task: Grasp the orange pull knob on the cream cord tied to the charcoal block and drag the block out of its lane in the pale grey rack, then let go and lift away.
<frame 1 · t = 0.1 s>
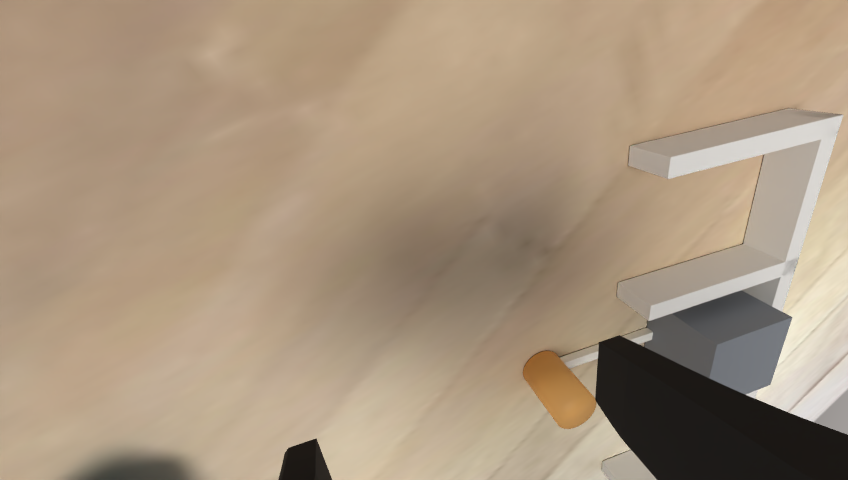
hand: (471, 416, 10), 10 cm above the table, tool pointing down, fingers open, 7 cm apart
lane rack: (679, 320, 27), on the table
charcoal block: (678, 320, 27), on the table
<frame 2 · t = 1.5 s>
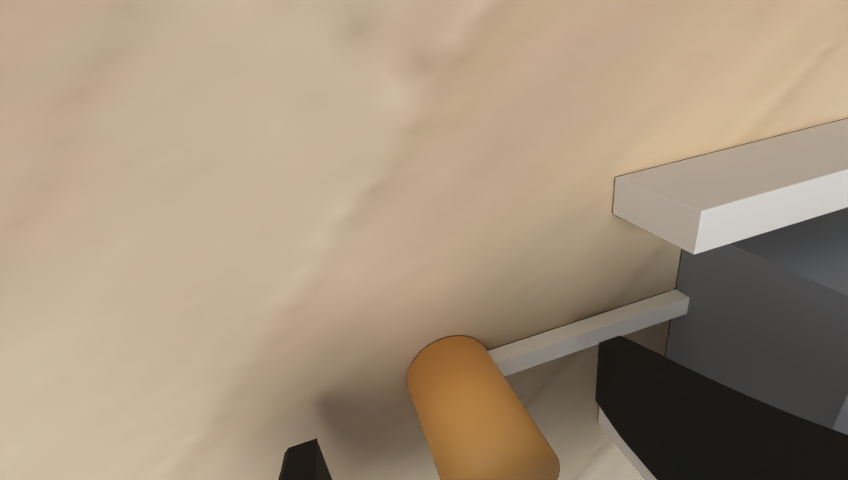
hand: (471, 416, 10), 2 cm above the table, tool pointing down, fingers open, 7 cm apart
lane rack: (739, 276, 13), on the table
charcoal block: (738, 275, 13), on the table
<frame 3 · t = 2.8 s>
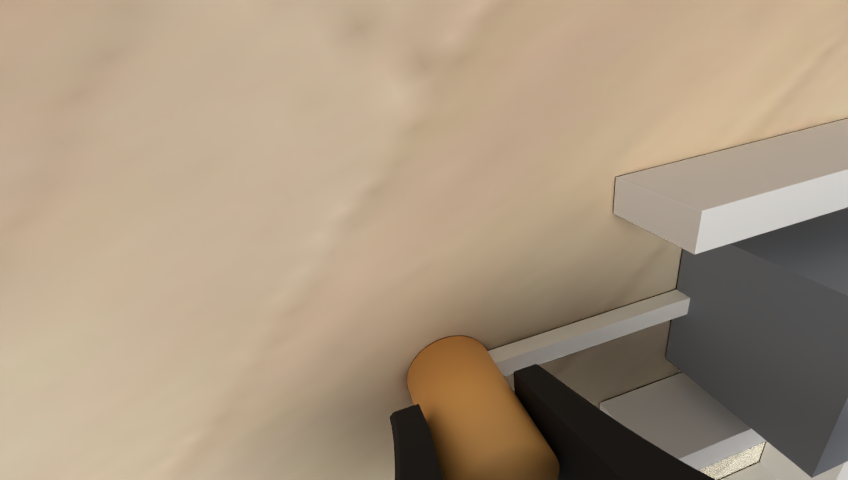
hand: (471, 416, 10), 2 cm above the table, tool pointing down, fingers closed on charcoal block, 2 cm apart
lane rack: (740, 276, 13), on the table
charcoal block: (739, 276, 13), on the table, touching gripper
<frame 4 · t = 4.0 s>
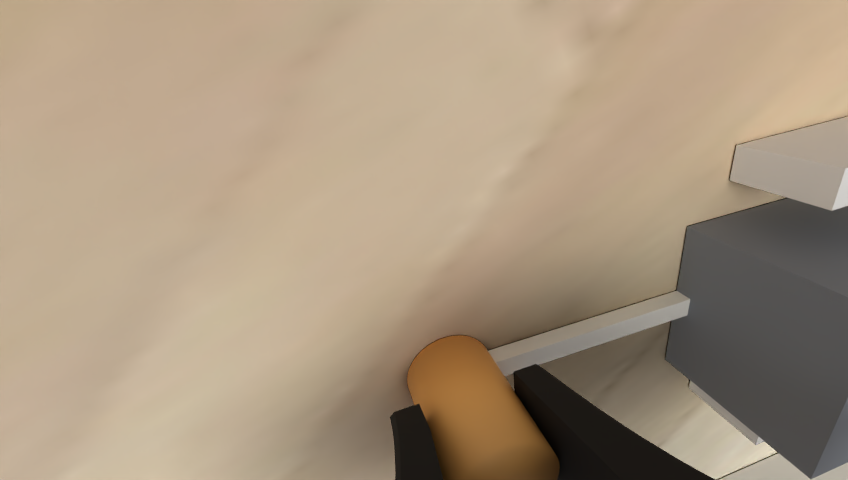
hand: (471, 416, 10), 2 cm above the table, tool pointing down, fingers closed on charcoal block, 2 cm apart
lane rack: (829, 245, 14), on the table
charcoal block: (739, 277, 13), on the table, touching gripper
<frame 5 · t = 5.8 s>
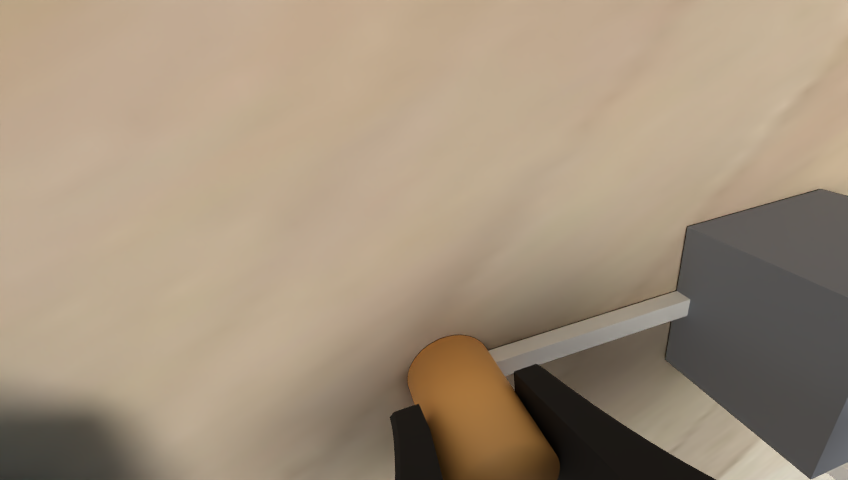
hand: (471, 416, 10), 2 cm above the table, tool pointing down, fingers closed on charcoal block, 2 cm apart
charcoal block: (739, 278, 13), on the table, touching gripper
when the fingers open (2 cm above the table, at t = 6.8 s): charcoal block stays where it is, on the table.
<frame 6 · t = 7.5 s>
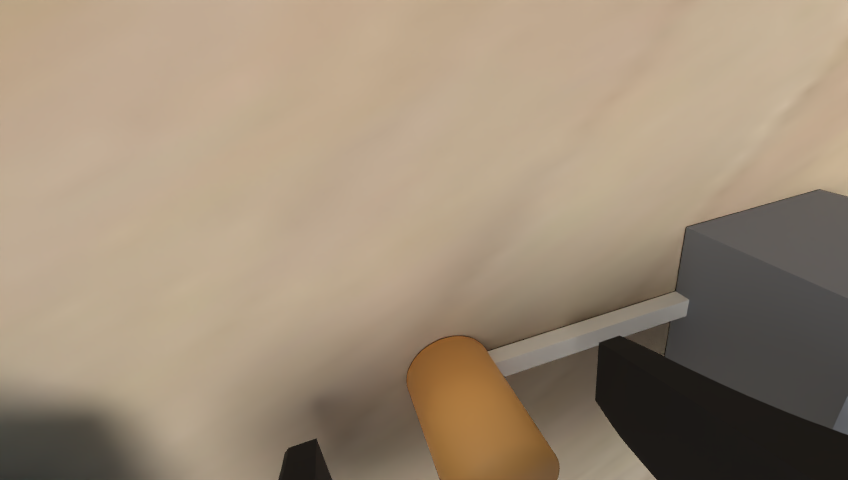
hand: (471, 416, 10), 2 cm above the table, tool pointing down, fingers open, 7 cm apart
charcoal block: (738, 278, 13), on the table
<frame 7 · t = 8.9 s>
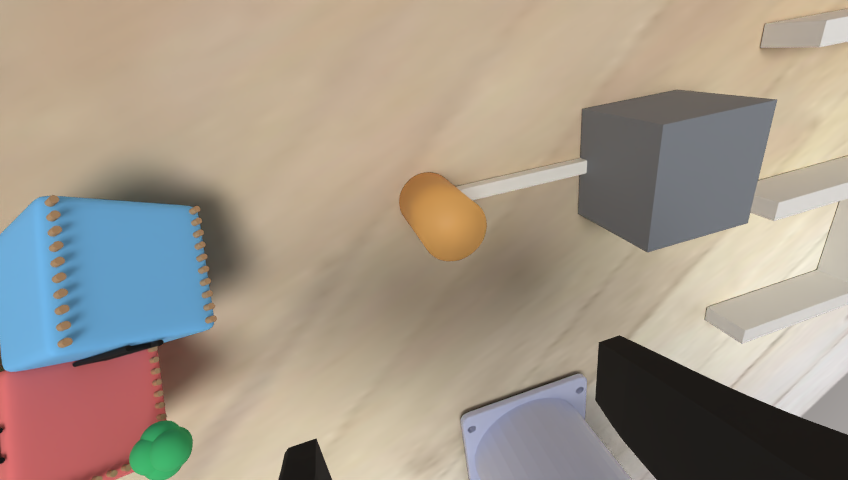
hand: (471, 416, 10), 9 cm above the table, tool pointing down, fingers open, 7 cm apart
lane rack: (820, 104, 22), on the table
building blocks: (48, 313, 16), on the table
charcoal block: (626, 153, 20), on the table
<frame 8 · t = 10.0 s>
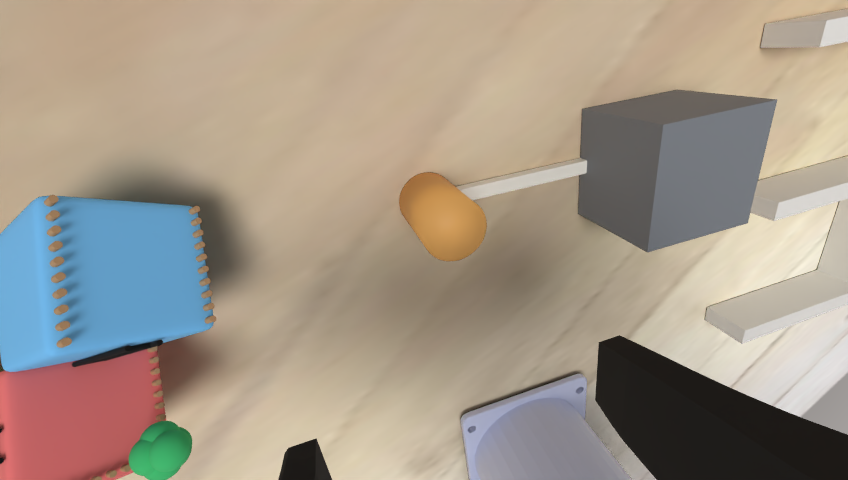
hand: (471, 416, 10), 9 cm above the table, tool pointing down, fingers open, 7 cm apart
lane rack: (820, 104, 22), on the table
building blocks: (48, 313, 16), on the table
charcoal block: (626, 153, 20), on the table
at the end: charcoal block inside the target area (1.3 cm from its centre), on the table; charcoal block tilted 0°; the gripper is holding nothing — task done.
